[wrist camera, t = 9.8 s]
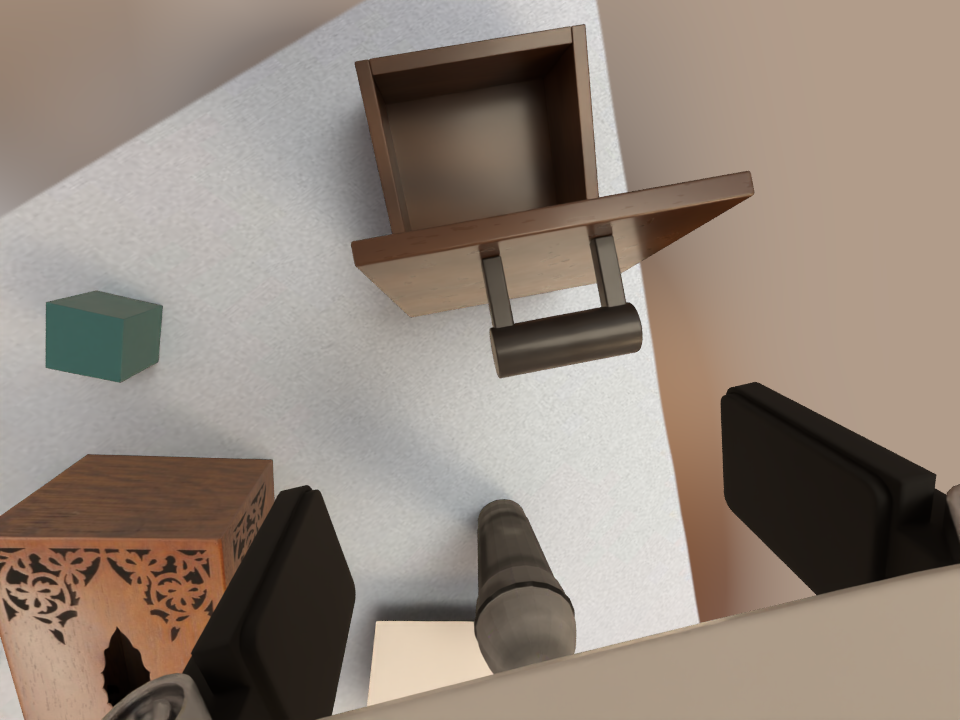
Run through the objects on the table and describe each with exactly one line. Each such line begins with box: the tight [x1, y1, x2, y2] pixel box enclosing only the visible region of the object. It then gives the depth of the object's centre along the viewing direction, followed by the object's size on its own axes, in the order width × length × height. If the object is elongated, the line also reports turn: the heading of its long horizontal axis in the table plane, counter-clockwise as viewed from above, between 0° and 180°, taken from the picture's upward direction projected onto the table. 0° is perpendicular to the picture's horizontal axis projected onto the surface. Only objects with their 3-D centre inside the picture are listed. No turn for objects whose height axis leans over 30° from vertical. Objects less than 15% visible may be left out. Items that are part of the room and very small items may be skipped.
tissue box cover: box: [0, 454, 275, 720], centre depth 37 cm, size 26×14×10 cm, turn 175°
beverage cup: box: [474, 499, 576, 674], centre depth 34 cm, size 7×7×20 cm
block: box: [46, 291, 163, 382], centre depth 33 cm, size 5×5×5 cm
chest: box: [355, 24, 599, 234], centre depth 30 cm, size 14×13×8 cm
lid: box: [351, 171, 754, 378], centre depth 21 cm, size 14×13×5 cm
